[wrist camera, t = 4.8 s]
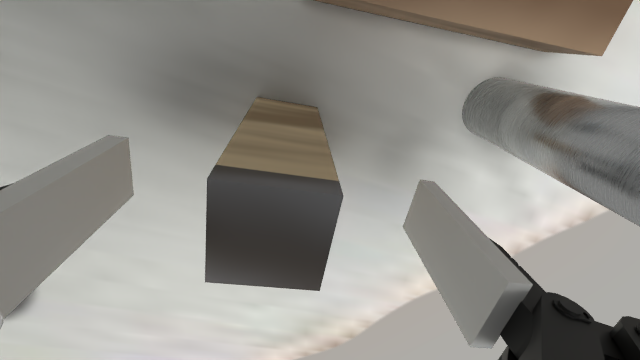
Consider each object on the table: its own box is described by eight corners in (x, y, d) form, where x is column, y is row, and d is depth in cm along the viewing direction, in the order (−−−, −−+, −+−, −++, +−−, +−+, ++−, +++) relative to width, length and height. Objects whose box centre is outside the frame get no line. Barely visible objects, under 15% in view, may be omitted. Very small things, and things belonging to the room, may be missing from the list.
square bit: (256, 97, 19) (207, 178, 8) (317, 107, 20) (342, 195, 9) (251, 154, 21) (205, 282, 10) (307, 161, 21) (319, 290, 11)
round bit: (476, 72, 19) (699, 120, 9) (529, 83, 20) (799, 141, 9) (453, 130, 21) (616, 230, 10) (503, 138, 22) (705, 241, 11)
